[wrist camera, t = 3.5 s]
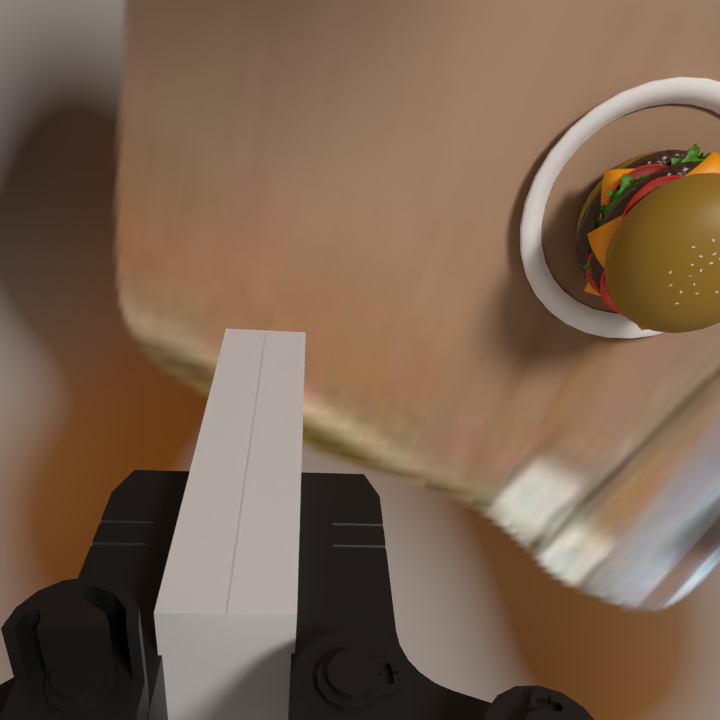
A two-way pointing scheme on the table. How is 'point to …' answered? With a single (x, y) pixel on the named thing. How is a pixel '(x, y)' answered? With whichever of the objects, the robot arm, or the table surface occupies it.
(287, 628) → the robot arm
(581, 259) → the hamburger
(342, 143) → the table surface
